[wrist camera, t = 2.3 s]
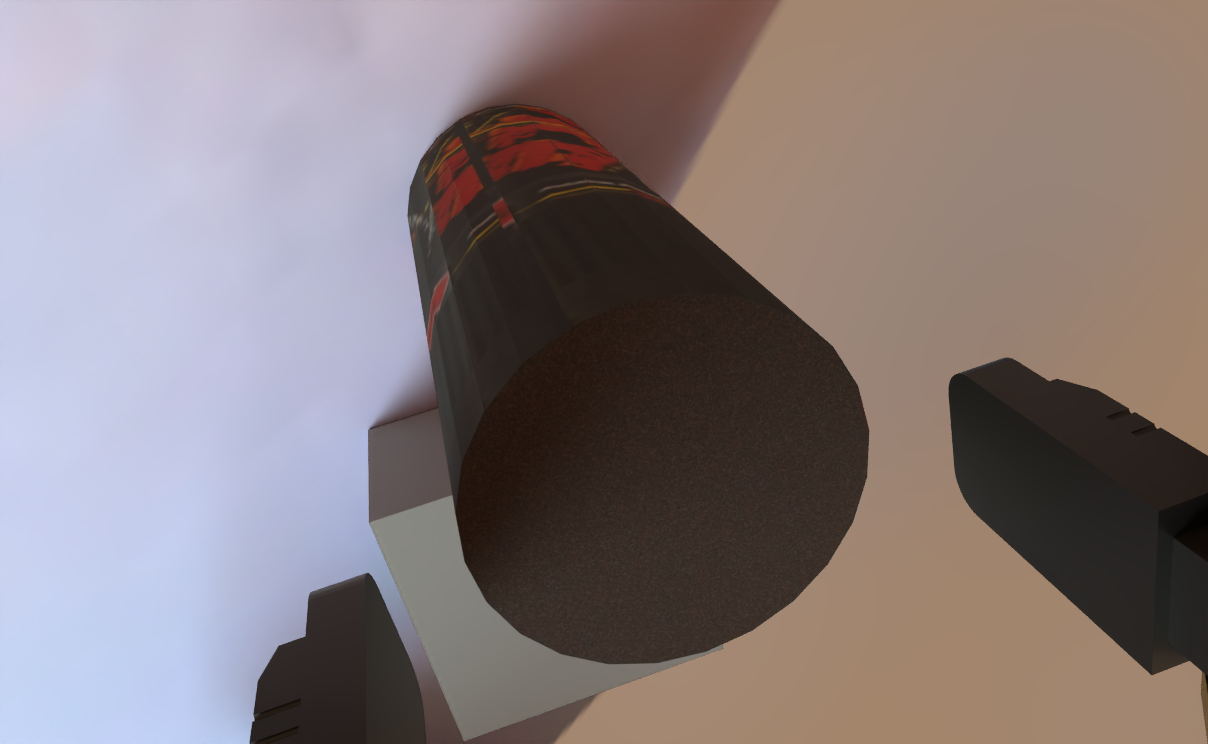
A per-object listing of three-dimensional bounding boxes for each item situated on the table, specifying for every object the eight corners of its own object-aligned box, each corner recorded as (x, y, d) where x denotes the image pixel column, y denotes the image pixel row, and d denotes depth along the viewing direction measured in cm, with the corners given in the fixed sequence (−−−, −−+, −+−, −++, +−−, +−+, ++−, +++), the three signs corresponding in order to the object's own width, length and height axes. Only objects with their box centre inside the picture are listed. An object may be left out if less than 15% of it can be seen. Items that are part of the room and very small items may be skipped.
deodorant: (658, 173, 27) (948, 404, 13) (551, 345, 28) (718, 708, 15) (474, 60, 24) (608, 207, 11) (368, 255, 26) (375, 590, 13)
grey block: (368, 430, 28) (369, 522, 24) (623, 348, 29) (670, 422, 24) (449, 628, 32) (464, 741, 27) (674, 551, 32) (723, 648, 28)
